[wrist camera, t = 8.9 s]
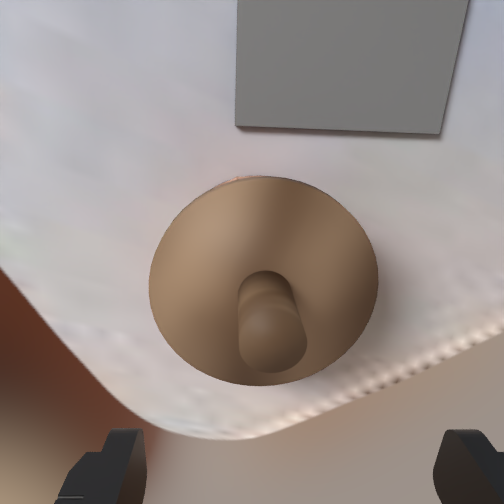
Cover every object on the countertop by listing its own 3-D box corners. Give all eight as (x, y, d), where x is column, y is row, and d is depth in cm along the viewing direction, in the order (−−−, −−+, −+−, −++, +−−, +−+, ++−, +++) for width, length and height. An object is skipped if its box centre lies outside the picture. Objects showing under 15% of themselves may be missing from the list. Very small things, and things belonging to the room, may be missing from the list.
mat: (479, -73, 17) (485, -77, 16) (435, 133, 20) (439, 134, 20) (239, -91, 16) (239, -96, 16) (235, 125, 19) (234, 125, 19)
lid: (388, 179, 17) (448, 207, 12) (354, 373, 21) (389, 449, 16) (145, 172, 16) (110, 198, 11) (159, 373, 20) (136, 453, 15)
